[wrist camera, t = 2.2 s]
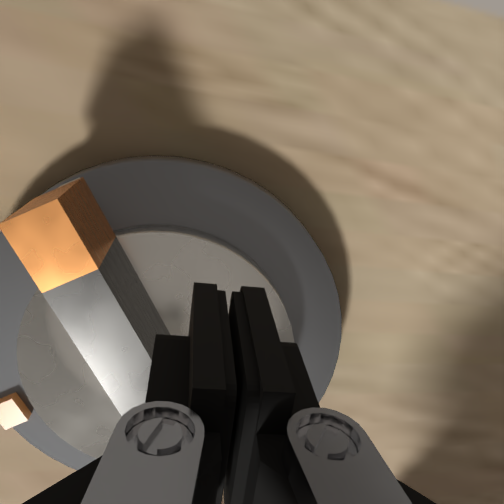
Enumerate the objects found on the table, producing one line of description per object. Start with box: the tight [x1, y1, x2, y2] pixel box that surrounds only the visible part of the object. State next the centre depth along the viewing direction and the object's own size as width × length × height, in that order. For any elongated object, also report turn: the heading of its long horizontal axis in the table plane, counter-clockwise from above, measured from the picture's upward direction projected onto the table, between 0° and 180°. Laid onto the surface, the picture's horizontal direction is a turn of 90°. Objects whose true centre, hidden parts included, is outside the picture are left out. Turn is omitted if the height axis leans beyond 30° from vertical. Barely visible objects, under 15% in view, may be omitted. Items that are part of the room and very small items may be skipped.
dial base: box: [0, 156, 341, 470], centre depth 27 cm, size 20×20×3 cm
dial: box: [0, 177, 294, 459], centre depth 23 cm, size 17×14×6 cm
